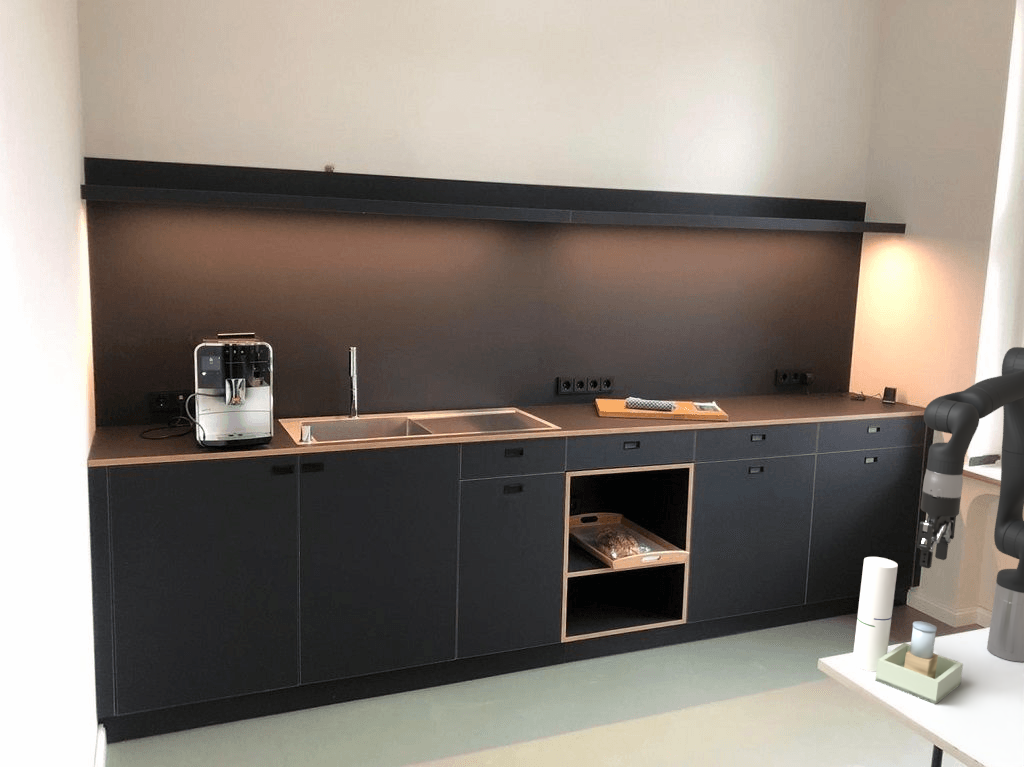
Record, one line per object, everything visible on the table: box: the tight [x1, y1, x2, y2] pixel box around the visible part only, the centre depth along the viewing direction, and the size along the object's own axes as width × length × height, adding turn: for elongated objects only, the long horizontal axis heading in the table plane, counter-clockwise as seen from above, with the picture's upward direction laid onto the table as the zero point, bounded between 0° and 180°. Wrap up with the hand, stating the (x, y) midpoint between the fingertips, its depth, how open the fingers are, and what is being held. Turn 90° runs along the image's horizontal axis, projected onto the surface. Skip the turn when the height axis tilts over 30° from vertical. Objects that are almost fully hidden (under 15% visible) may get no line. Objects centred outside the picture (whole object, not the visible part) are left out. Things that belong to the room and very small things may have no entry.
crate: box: [875, 642, 964, 705], centre depth 191 cm, size 14×13×5 cm
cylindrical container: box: [852, 556, 898, 673], centre depth 197 cm, size 7×7×25 cm
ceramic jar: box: [910, 620, 938, 658], centre depth 190 cm, size 5×5×7 cm
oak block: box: [904, 651, 939, 679], centre depth 191 cm, size 5×5×6 cm
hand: (932, 562), depth 187 cm, fingers open, 8 cm apart
